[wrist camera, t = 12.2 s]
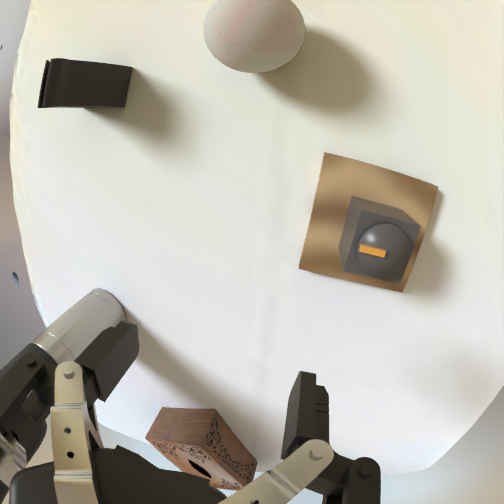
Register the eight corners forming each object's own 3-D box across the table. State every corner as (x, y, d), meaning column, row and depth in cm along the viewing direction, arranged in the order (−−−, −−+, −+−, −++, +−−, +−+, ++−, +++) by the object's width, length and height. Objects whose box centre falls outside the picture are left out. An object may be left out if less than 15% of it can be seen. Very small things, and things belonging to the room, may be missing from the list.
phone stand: (133, 67, 29) (72, 53, 18) (125, 107, 32) (61, 105, 21) (89, 71, 30) (30, 65, 19) (82, 107, 33) (22, 110, 22)
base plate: (399, 286, 33) (402, 292, 32) (299, 263, 35) (298, 268, 34) (433, 184, 28) (438, 186, 26) (324, 152, 30) (324, 152, 28)
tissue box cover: (257, 461, 59) (249, 491, 50) (211, 458, 63) (200, 485, 54) (215, 408, 51) (200, 445, 42) (162, 406, 56) (144, 437, 47)
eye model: (282, 95, 28) (269, 76, 19) (206, 63, 28) (168, 41, 19) (321, 29, 24) (322, -10, 15) (244, 1, 24) (219, -37, 15)
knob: (401, 209, 28) (426, 230, 21) (386, 258, 31) (403, 291, 24) (351, 195, 29) (363, 213, 22) (338, 246, 32) (344, 278, 25)
